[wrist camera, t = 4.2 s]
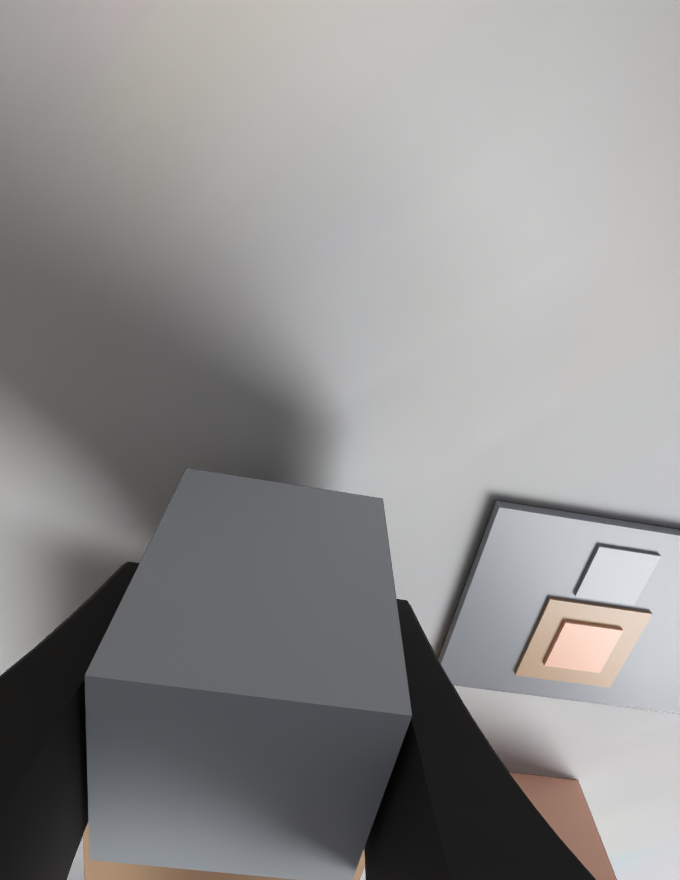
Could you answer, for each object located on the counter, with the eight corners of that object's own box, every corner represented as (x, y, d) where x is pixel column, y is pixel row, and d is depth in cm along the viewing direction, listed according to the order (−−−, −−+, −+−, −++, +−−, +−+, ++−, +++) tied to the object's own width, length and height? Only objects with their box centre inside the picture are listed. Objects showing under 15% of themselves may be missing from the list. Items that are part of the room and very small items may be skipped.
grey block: (382, 498, 11) (412, 716, 7) (346, 639, 13) (350, 884, 9) (186, 467, 11) (84, 675, 7) (175, 616, 13) (89, 860, 8)
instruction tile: (800, 548, 14) (815, 561, 14) (691, 707, 17) (701, 722, 16) (496, 500, 13) (501, 511, 13) (432, 673, 16) (435, 688, 16)
